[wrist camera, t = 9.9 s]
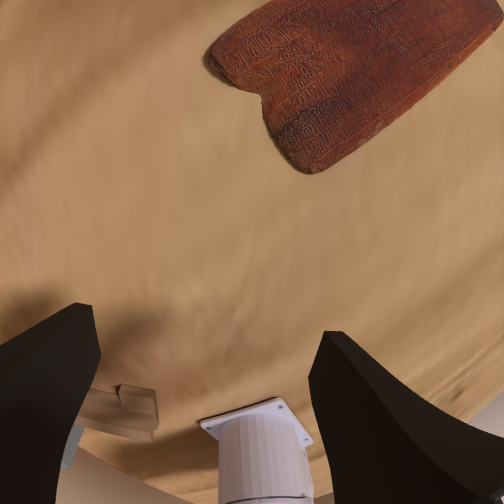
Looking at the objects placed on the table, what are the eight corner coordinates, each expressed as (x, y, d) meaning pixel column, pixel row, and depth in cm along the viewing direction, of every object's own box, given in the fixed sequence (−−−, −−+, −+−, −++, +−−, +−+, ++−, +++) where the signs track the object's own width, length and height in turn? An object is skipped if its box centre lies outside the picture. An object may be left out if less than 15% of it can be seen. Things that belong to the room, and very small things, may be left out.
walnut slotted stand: (154, 390, 22) (147, 422, 18) (159, 422, 23) (153, 451, 20) (-4, 346, 20) (-20, 366, 17) (11, 379, 22) (-2, 400, 18)
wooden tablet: (308, 184, 17) (316, 189, 15) (196, 58, 14) (192, 50, 12) (509, 29, 12) (520, 27, 10) (445, -58, 8) (455, -63, 7)
